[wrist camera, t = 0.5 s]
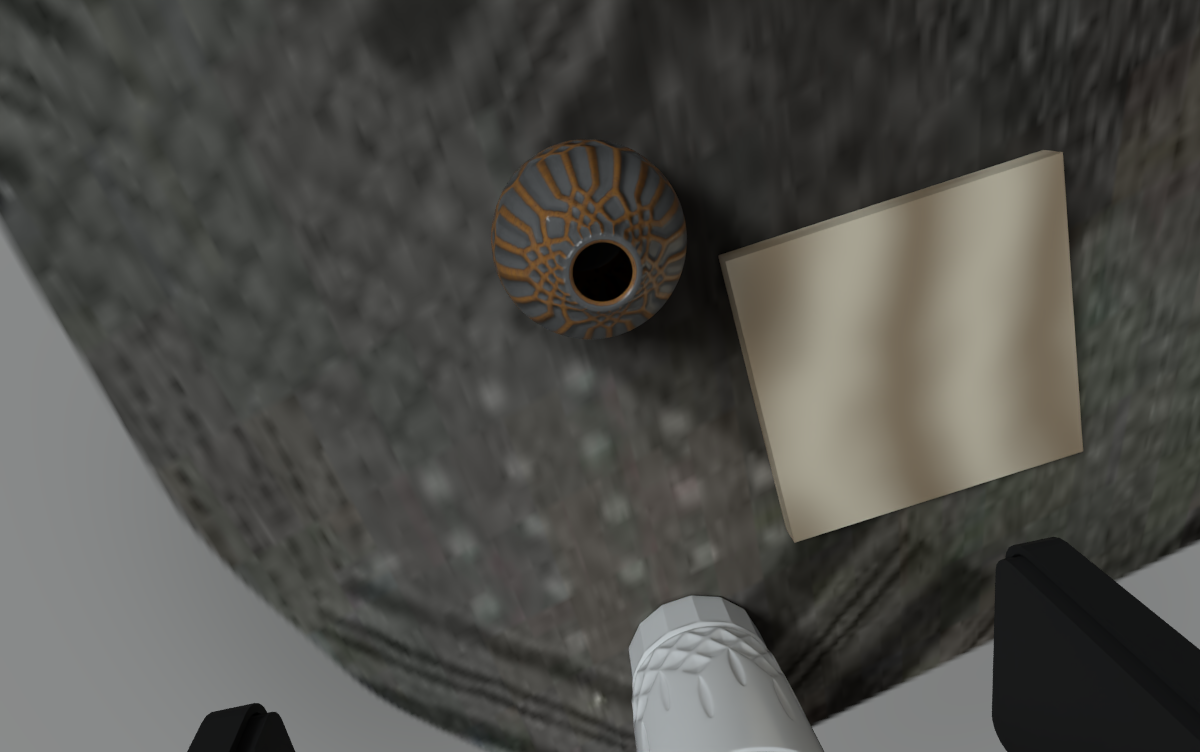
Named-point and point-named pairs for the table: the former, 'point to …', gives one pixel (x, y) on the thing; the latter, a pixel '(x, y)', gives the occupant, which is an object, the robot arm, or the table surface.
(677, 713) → the white cup
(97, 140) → the table surface
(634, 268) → the vase
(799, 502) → the birch pad
